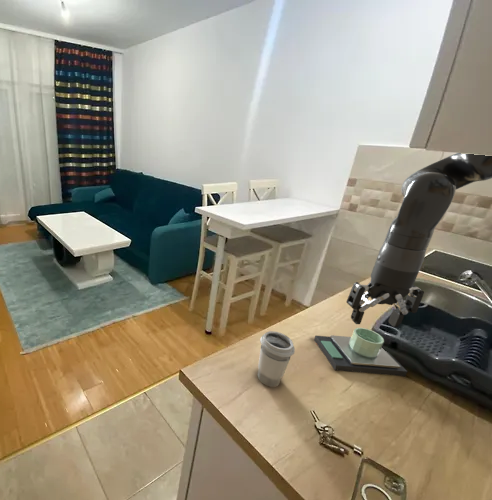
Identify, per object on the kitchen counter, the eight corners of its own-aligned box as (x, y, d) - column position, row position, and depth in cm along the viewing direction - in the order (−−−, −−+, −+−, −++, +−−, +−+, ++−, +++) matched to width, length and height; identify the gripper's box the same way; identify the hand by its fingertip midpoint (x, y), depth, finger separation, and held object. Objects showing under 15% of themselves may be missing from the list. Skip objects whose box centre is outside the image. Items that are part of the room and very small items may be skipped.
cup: (290, 388, 65) (303, 346, 61) (269, 398, 63) (280, 355, 58) (266, 366, 71) (276, 326, 67) (245, 374, 68) (254, 334, 64)
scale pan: (372, 340, 77) (373, 338, 77) (399, 368, 68) (400, 366, 68) (329, 336, 78) (330, 335, 78) (351, 364, 69) (351, 362, 69)
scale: (373, 347, 79) (377, 339, 78) (403, 379, 69) (408, 370, 68) (312, 342, 80) (315, 334, 79) (333, 373, 70) (337, 364, 69)
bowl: (367, 342, 76) (373, 328, 74) (383, 359, 70) (390, 344, 68) (343, 340, 76) (348, 326, 74) (357, 357, 70) (363, 342, 69)
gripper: (374, 268, 61) (352, 331, 67) (447, 272, 60) (417, 335, 66) (353, 255, 68) (335, 312, 74) (418, 258, 67) (394, 316, 73)
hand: (374, 323), depth 70 cm, fingers open, 8 cm apart
